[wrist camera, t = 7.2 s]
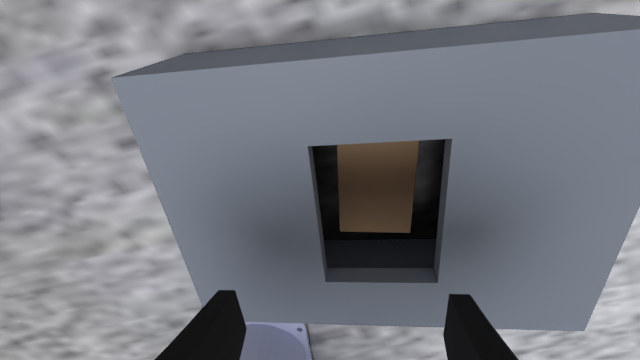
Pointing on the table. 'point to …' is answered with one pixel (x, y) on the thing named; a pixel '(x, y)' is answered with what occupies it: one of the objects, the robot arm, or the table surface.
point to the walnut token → (377, 186)
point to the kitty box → (393, 126)
